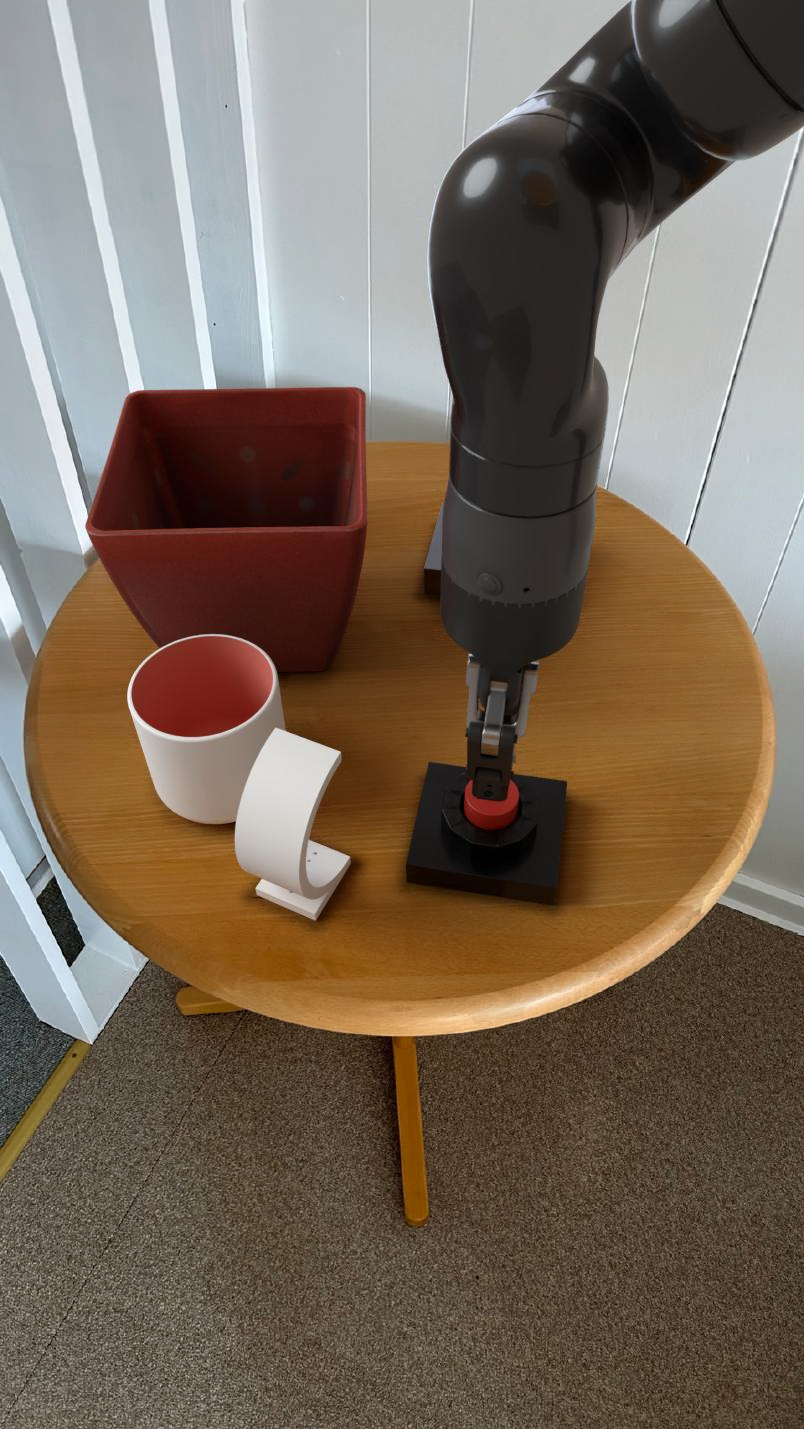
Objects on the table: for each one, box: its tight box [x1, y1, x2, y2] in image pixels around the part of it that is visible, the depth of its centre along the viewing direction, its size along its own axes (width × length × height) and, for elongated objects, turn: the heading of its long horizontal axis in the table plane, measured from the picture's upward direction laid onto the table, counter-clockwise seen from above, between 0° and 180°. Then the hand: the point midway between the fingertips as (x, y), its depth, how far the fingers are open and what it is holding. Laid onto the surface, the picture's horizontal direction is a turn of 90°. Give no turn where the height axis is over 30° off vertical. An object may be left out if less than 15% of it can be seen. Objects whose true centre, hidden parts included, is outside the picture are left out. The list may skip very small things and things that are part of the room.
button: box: [464, 779, 519, 830], centre depth 65 cm, size 4×4×2 cm
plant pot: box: [84, 386, 368, 673], centre depth 77 cm, size 19×19×17 cm
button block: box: [405, 761, 568, 906], centre depth 67 cm, size 10×9×4 cm
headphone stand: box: [234, 728, 352, 922], centre depth 61 cm, size 5×6×12 cm
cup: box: [126, 634, 287, 825], centre depth 68 cm, size 10×10×10 cm
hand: (495, 762), depth 62 cm, fingers open, 4 cm apart
